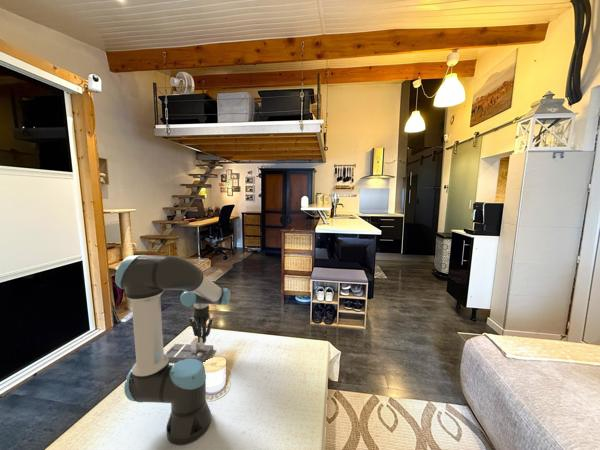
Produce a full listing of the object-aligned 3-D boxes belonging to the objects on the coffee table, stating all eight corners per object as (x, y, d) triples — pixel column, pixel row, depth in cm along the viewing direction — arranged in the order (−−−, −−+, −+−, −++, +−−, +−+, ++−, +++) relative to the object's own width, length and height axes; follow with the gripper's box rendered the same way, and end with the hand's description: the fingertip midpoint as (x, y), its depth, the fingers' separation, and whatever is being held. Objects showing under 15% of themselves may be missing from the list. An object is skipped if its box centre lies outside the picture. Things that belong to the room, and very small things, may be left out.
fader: (196, 353, 129) (196, 342, 129) (190, 353, 129) (190, 342, 129) (200, 348, 134) (200, 337, 134) (195, 348, 134) (195, 337, 134)
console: (204, 363, 126) (203, 355, 125) (162, 361, 127) (162, 354, 126) (213, 349, 138) (213, 342, 137) (175, 348, 139) (175, 341, 138)
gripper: (216, 303, 133) (216, 344, 135) (193, 302, 134) (193, 343, 136) (210, 309, 126) (211, 352, 127) (186, 308, 126) (187, 351, 128)
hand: (202, 347), depth 132 cm, fingers closed
